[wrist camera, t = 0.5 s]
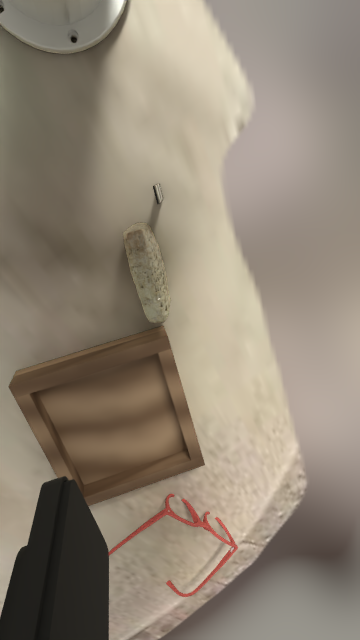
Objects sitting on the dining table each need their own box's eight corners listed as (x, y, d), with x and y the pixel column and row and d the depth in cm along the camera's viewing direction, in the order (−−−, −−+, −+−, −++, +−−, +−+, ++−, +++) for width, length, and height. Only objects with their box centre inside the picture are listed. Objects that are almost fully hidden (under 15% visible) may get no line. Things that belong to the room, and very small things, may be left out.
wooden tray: (16, 371, 37) (8, 386, 34) (163, 325, 39) (167, 336, 36) (77, 489, 45) (75, 510, 42) (198, 447, 46) (204, 464, 43)
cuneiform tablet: (159, 183, 34) (188, 294, 38) (116, 195, 34) (150, 303, 39) (154, 185, 27) (190, 319, 32) (101, 200, 27) (144, 330, 32)
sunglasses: (237, 520, 54) (249, 551, 49) (171, 583, 56) (177, 618, 52) (156, 477, 47) (162, 507, 43) (85, 549, 50) (83, 586, 45)
